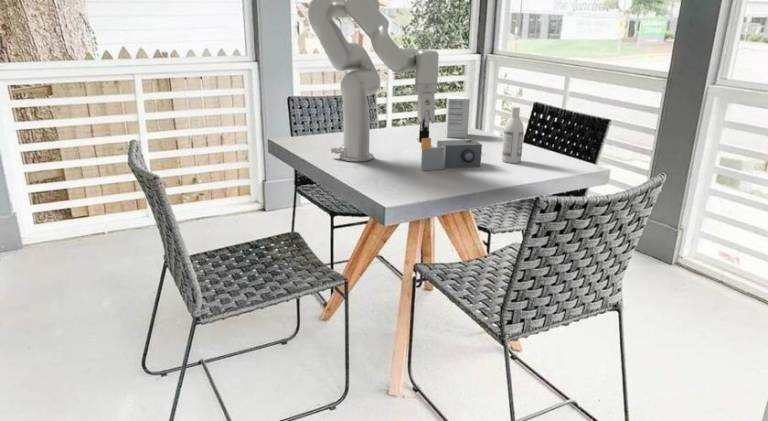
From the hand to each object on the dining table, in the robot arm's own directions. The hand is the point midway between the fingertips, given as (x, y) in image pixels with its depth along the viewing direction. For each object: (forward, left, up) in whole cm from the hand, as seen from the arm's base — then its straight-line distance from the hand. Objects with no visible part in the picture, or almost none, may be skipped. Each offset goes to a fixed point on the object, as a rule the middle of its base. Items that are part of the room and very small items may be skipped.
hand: (423, 141), depth 205 cm
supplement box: (+28, +51, -10) cm, 59 cm away
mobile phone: (+15, +20, -10) cm, 27 cm away
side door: (+3, -3, -9) cm, 10 cm away
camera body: (+14, +2, -9) cm, 17 cm away
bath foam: (+35, +4, -10) cm, 36 cm away
